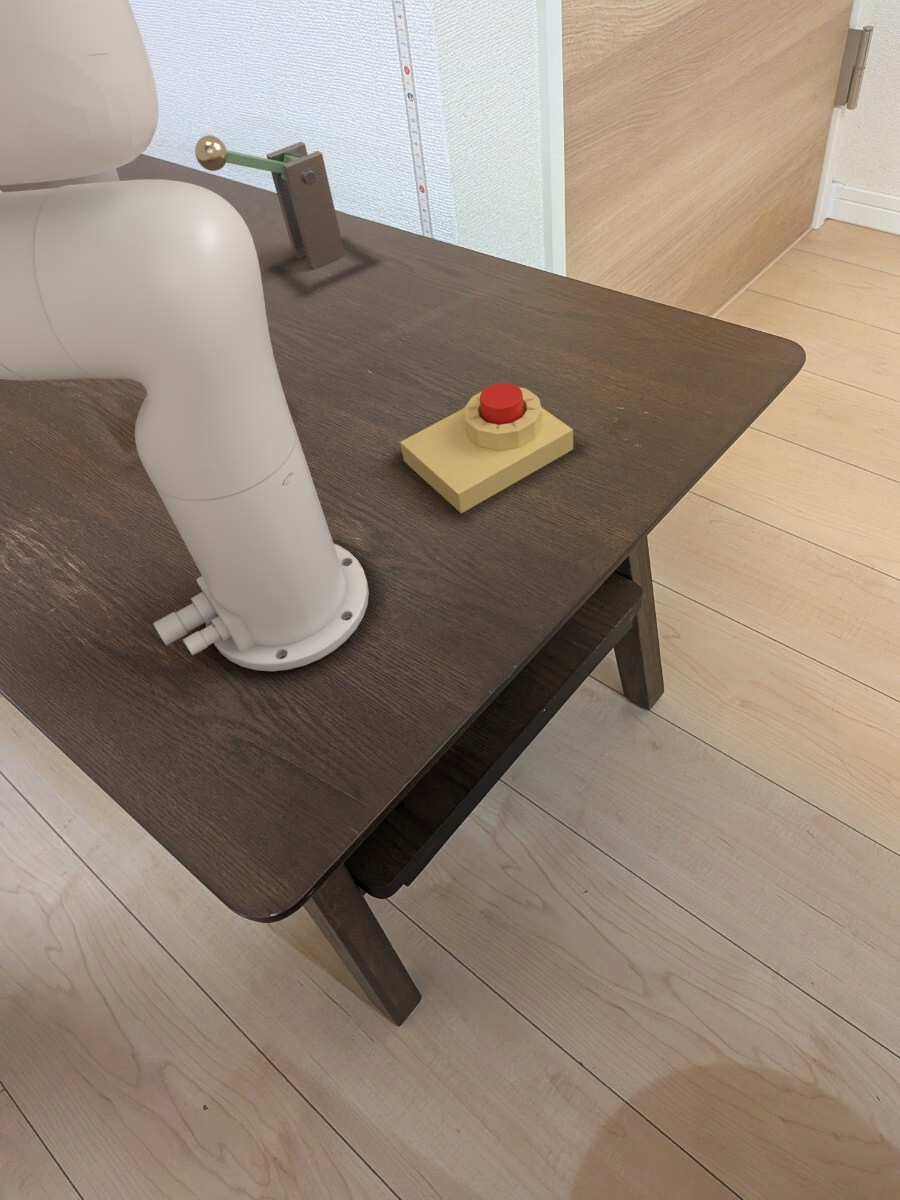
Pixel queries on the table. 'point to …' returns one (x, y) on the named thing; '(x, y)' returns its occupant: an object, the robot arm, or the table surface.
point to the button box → (485, 451)
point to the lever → (234, 157)
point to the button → (501, 403)
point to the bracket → (308, 206)
